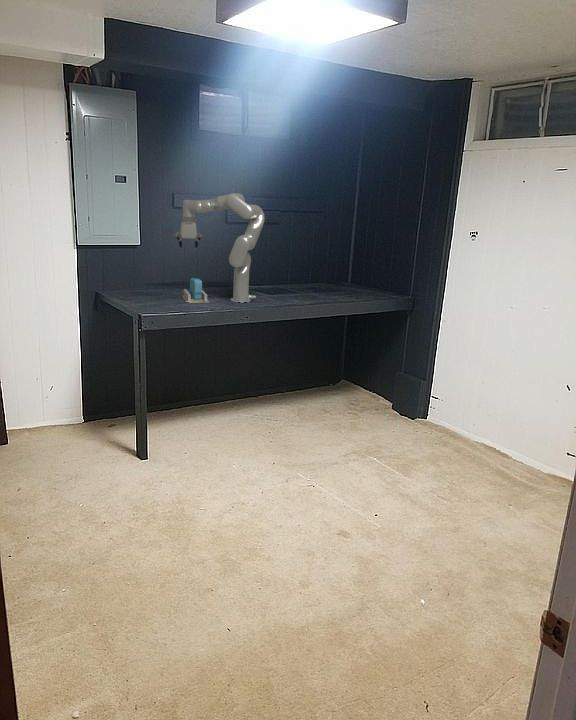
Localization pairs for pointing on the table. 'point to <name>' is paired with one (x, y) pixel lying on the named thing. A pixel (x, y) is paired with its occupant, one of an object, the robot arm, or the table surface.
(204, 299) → the bay
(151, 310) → the table surface
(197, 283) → the data package
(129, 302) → the table surface
